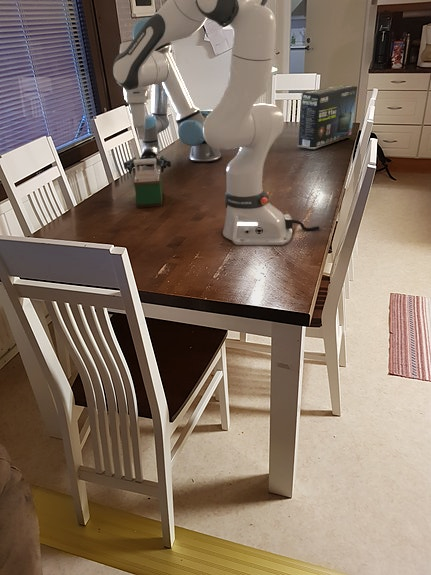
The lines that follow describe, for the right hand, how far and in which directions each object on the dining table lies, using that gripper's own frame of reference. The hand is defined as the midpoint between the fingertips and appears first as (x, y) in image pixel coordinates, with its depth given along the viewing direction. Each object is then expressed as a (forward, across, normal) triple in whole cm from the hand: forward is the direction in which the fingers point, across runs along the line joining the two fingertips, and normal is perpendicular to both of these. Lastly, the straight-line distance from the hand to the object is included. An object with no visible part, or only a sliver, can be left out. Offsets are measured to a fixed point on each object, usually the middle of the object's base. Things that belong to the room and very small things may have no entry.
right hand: (142, 135), depth 162 cm
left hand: (+19, -24, -1) cm, 30 cm away
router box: (+26, -73, +92) cm, 120 cm away
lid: (+17, -4, 0) cm, 17 cm away
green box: (+26, -4, 0) cm, 26 cm away
